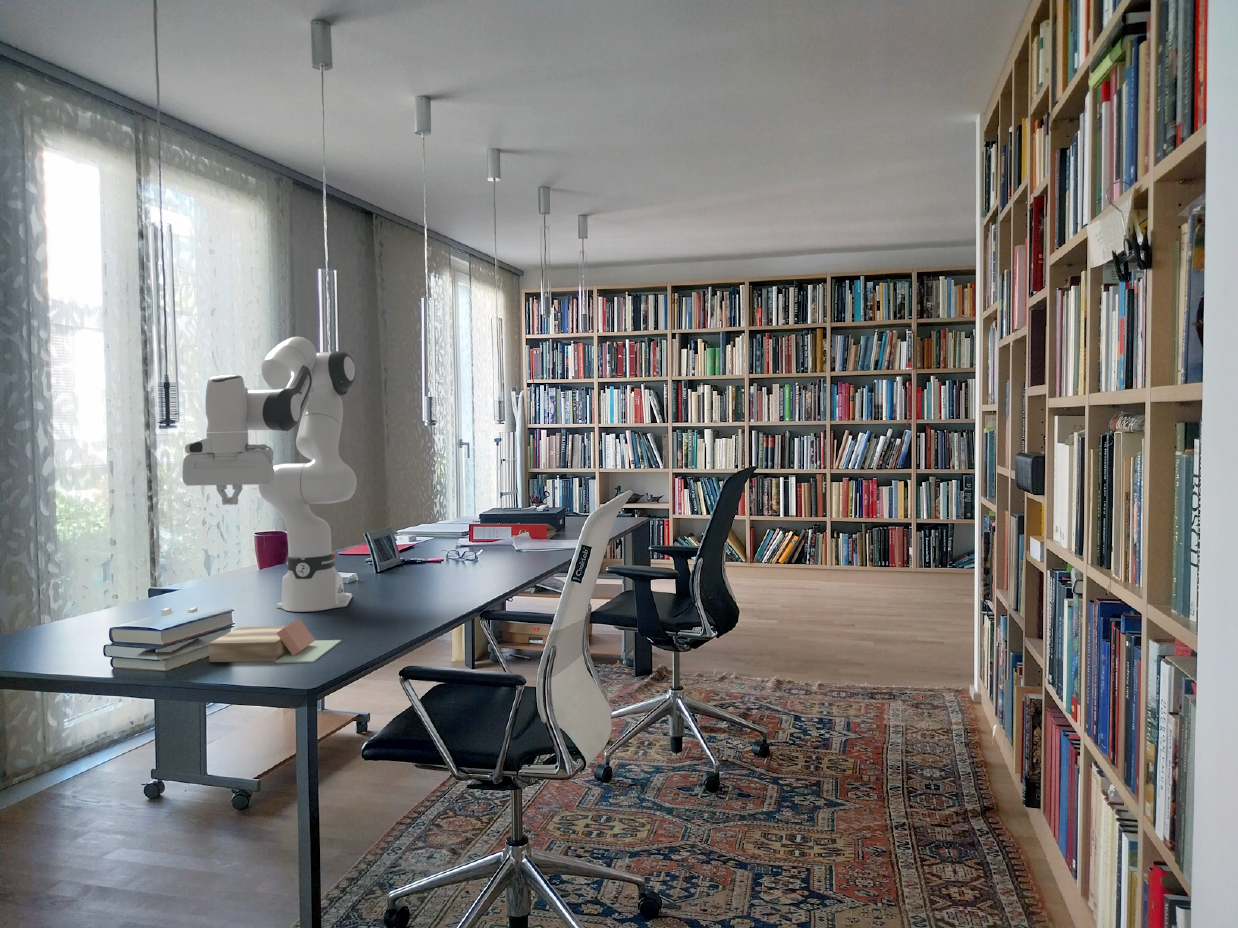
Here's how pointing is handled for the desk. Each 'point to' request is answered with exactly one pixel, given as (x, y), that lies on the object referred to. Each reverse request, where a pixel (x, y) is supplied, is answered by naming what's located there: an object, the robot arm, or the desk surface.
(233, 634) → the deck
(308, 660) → the mat
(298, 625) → the terracotta brick
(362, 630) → the desk surface
